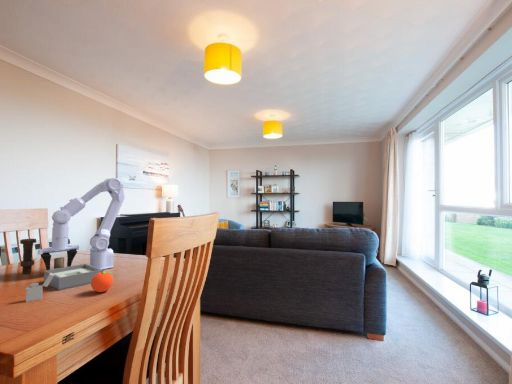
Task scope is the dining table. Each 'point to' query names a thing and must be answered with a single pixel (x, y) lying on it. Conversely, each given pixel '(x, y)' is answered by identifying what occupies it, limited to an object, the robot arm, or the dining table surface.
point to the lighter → (37, 289)
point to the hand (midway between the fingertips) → (58, 268)
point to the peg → (58, 263)
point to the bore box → (72, 276)
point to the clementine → (102, 282)
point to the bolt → (27, 255)
